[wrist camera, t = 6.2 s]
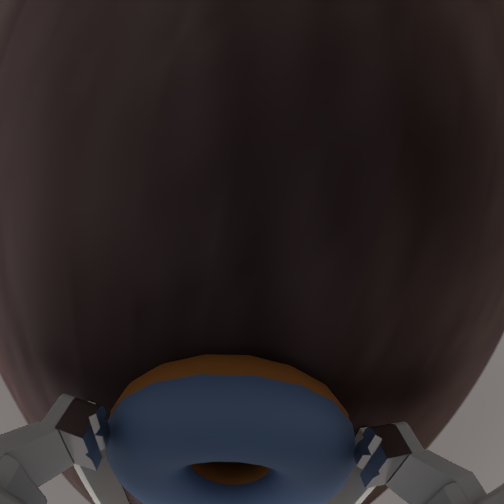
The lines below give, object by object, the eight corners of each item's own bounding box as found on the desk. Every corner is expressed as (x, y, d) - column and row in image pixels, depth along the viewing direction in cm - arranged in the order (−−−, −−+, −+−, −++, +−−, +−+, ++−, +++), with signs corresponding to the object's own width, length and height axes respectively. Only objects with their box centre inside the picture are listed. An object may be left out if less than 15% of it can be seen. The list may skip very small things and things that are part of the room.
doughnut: (226, 503, 12) (228, 561, 8) (85, 407, 11) (47, 466, 6) (369, 417, 12) (410, 475, 8) (235, 278, 11) (241, 323, 6)
